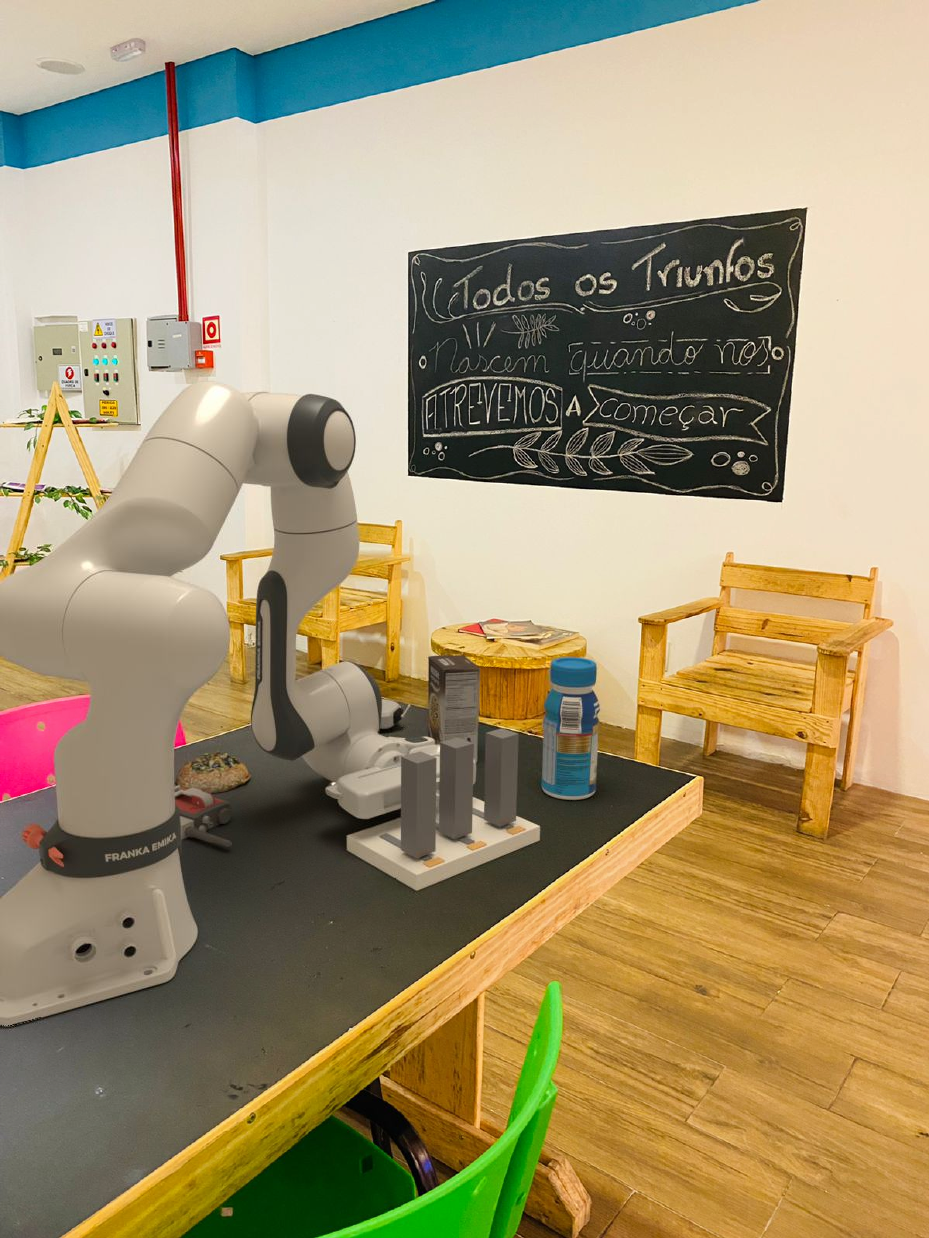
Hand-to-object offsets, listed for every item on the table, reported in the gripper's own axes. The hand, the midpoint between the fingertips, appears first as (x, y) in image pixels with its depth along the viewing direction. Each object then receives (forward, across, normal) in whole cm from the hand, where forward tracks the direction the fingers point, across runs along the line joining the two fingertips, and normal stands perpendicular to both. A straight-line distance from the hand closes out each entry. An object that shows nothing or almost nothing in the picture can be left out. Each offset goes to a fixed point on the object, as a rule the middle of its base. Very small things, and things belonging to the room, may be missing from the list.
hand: (447, 799), depth 118 cm
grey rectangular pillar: (+2, 0, +4) cm, 4 cm away
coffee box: (-26, +24, +7) cm, 35 cm away
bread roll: (-40, -12, +7) cm, 42 cm away
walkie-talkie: (-27, -21, +7) cm, 35 cm away
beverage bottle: (-2, +27, +7) cm, 28 cm away
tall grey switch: (+2, -7, +4) cm, 8 cm away
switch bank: (0, 0, +6) cm, 6 cm away
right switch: (+2, +7, +4) cm, 8 cm away
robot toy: (-44, +20, +7) cm, 49 cm away
